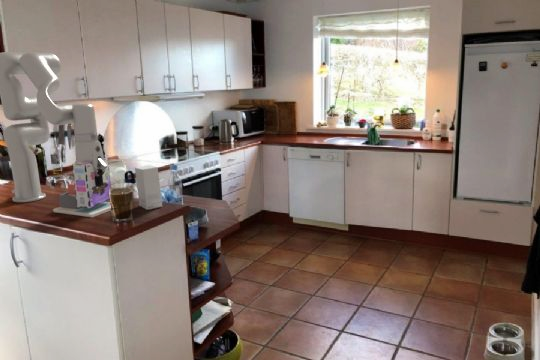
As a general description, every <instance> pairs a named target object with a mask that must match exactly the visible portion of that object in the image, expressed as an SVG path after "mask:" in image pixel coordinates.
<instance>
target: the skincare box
mask: <svg viewBox="0 0 540 360" xmlns="http://www.w3.org/2000/svg"><path fill="white" fill-rule="evenodd" d="M134 173H135V179H136V188H137V197H138V204H139V207H140V208H141V207H142V208H143V209H145V210H154V209H157V208H162V207H163V200H162V192H161V185H160V176H159V169H158V166H155V165H151V164H146V165H142V166H136V167H134Z"/></svg>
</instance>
